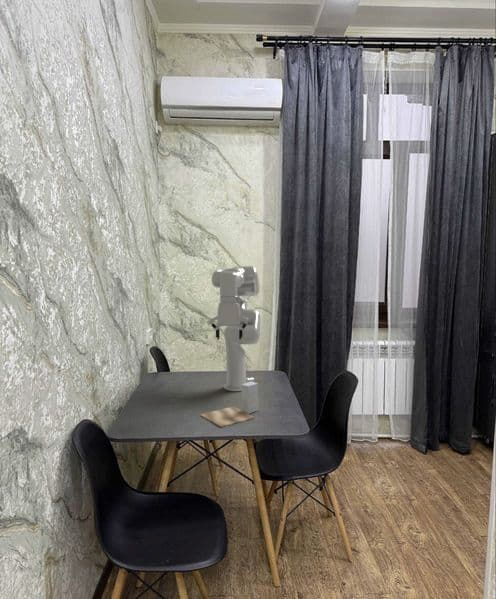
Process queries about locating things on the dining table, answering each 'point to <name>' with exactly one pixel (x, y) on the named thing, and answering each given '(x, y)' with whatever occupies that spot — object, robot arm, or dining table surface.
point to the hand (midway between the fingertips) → (229, 338)
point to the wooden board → (227, 416)
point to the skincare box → (249, 397)
